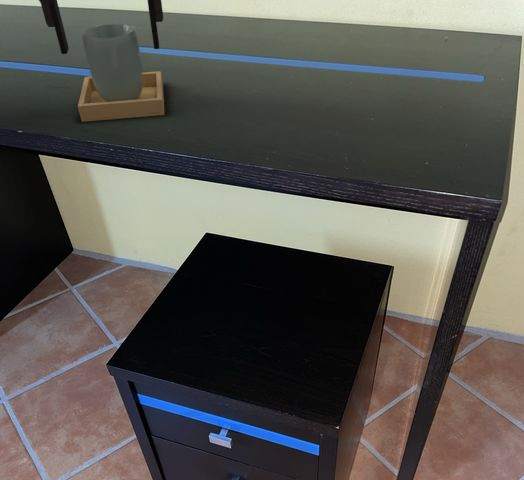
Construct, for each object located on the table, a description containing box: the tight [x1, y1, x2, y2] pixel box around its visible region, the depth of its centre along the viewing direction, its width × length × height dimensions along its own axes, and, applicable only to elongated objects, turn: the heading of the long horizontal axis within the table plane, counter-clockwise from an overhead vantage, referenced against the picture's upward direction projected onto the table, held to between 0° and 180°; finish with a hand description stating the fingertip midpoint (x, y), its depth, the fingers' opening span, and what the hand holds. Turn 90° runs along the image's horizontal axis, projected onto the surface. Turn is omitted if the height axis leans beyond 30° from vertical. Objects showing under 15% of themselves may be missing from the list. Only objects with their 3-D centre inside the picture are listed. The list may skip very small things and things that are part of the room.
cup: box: [81, 22, 144, 102], centre depth 80 cm, size 8×8×10 cm
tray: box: [77, 71, 166, 122], centre depth 84 cm, size 13×13×3 cm
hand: (111, 49), depth 79 cm, fingers open, 13 cm apart
